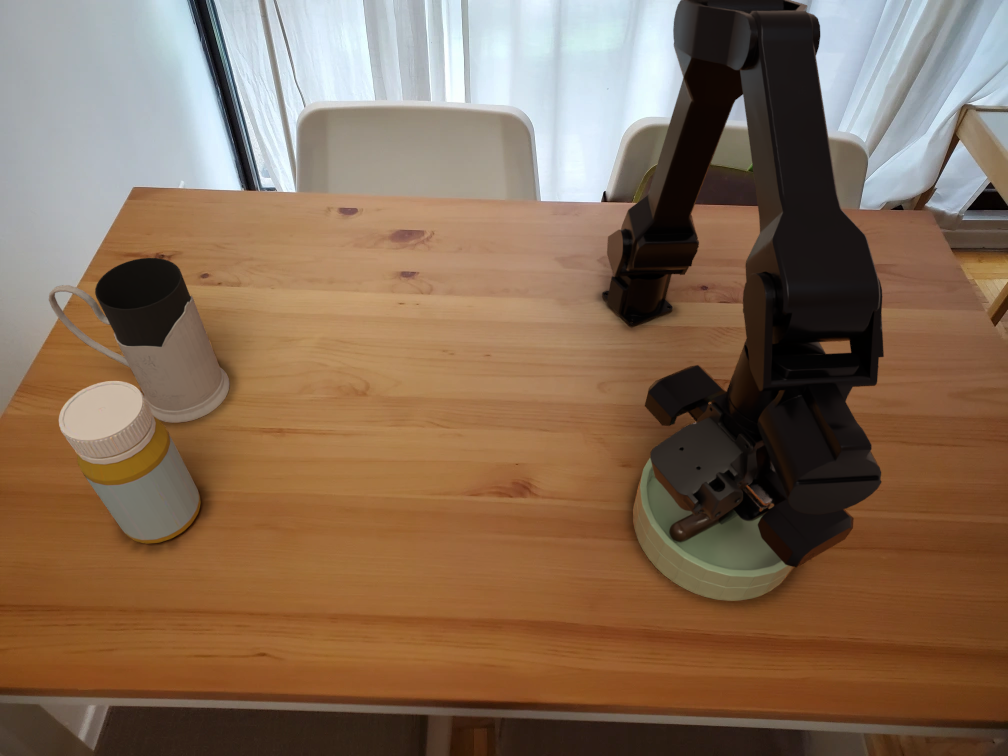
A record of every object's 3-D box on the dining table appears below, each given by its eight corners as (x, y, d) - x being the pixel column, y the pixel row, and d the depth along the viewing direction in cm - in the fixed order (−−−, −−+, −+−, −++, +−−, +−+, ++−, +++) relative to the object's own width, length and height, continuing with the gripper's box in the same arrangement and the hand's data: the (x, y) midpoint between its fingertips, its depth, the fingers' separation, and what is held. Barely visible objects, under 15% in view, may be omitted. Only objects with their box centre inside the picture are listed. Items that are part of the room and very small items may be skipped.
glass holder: (212, 426, 74) (165, 318, 63) (78, 414, 75) (9, 306, 64) (240, 365, 80) (202, 256, 69) (116, 355, 81) (59, 246, 70)
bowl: (722, 438, 75) (734, 410, 71) (832, 555, 66) (850, 529, 63) (601, 496, 70) (607, 468, 66) (702, 631, 61) (715, 607, 57)
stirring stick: (746, 490, 68) (751, 480, 66) (759, 505, 67) (765, 494, 65) (663, 533, 64) (667, 522, 63) (675, 549, 63) (680, 538, 62)
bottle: (134, 484, 69) (68, 378, 58) (209, 480, 70) (158, 374, 59) (113, 549, 64) (38, 447, 53) (194, 544, 65) (136, 442, 54)
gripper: (606, 354, 56) (585, 471, 68) (773, 540, 45) (714, 643, 57) (716, 311, 60) (678, 429, 72) (895, 473, 49) (817, 582, 60)
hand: (716, 512), depth 65 cm, fingers closed on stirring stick, 2 cm apart
